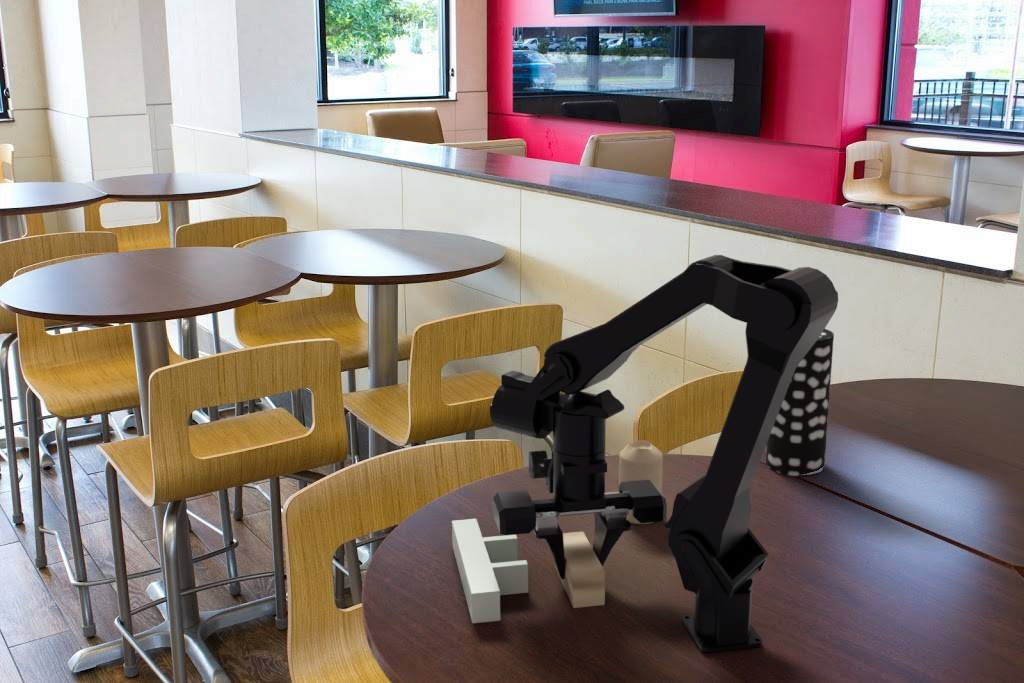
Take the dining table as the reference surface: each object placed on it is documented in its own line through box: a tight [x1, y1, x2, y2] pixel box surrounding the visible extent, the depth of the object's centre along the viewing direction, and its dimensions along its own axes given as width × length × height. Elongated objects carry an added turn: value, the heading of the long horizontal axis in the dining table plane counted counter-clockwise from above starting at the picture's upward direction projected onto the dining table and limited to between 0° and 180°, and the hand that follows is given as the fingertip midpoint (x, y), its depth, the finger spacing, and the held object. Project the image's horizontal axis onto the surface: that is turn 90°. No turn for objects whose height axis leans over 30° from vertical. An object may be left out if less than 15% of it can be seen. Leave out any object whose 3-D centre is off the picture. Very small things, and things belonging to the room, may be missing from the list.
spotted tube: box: [765, 328, 835, 477], centre depth 146 cm, size 8×8×20 cm
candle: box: [618, 439, 664, 525], centre depth 131 cm, size 6×6×10 cm
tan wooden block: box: [553, 530, 606, 609], centre depth 115 cm, size 10×4×4 cm, turn 10°
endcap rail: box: [451, 518, 529, 624], centre depth 117 cm, size 18×7×4 cm, turn 10°
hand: (578, 575), depth 115 cm, fingers closed on tan wooden block, 3 cm apart
